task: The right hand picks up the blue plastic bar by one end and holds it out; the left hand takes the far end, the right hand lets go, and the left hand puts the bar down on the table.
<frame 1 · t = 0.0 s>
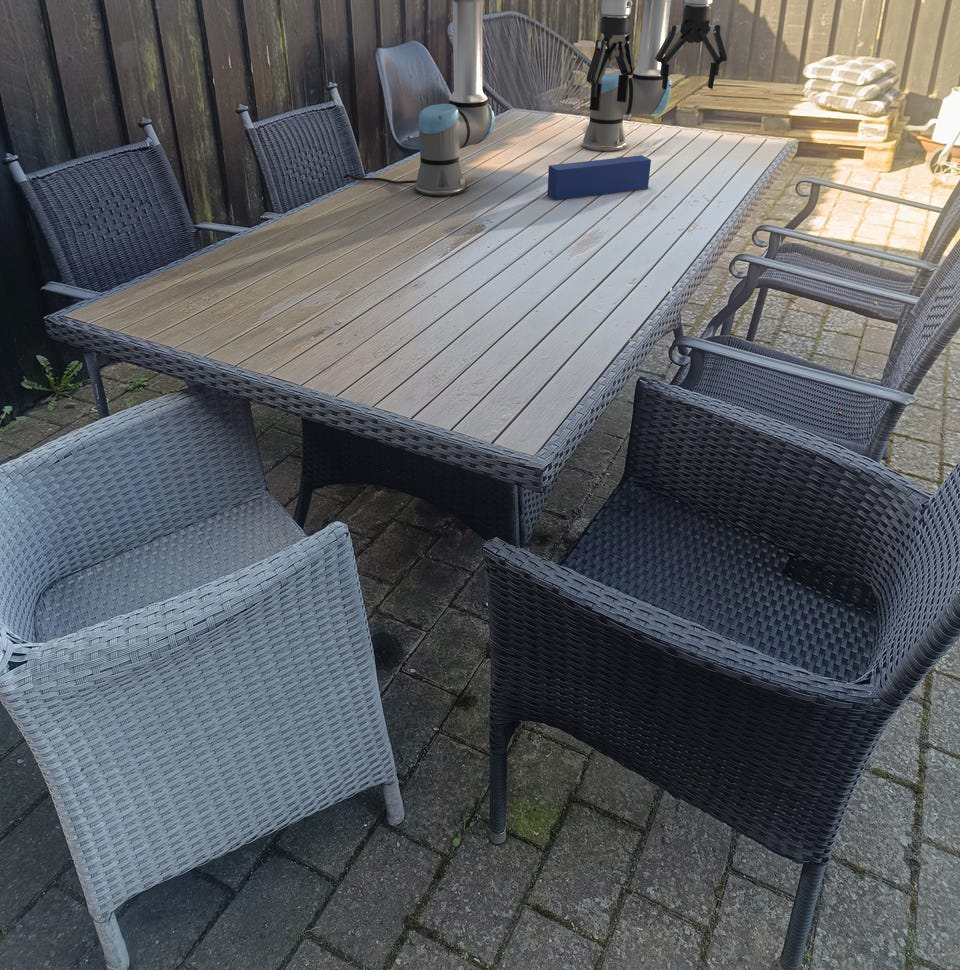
left hand: (608, 106, 226), 28 cm above the table, tool pointing down, fingers open, 13 cm apart
right hand: (687, 88, 245), 28 cm above the table, tool pointing down, fingers open, 13 cm apart
bar: (598, 191, 257), on the table
red lumpy piece: (622, 170, 276), on the table
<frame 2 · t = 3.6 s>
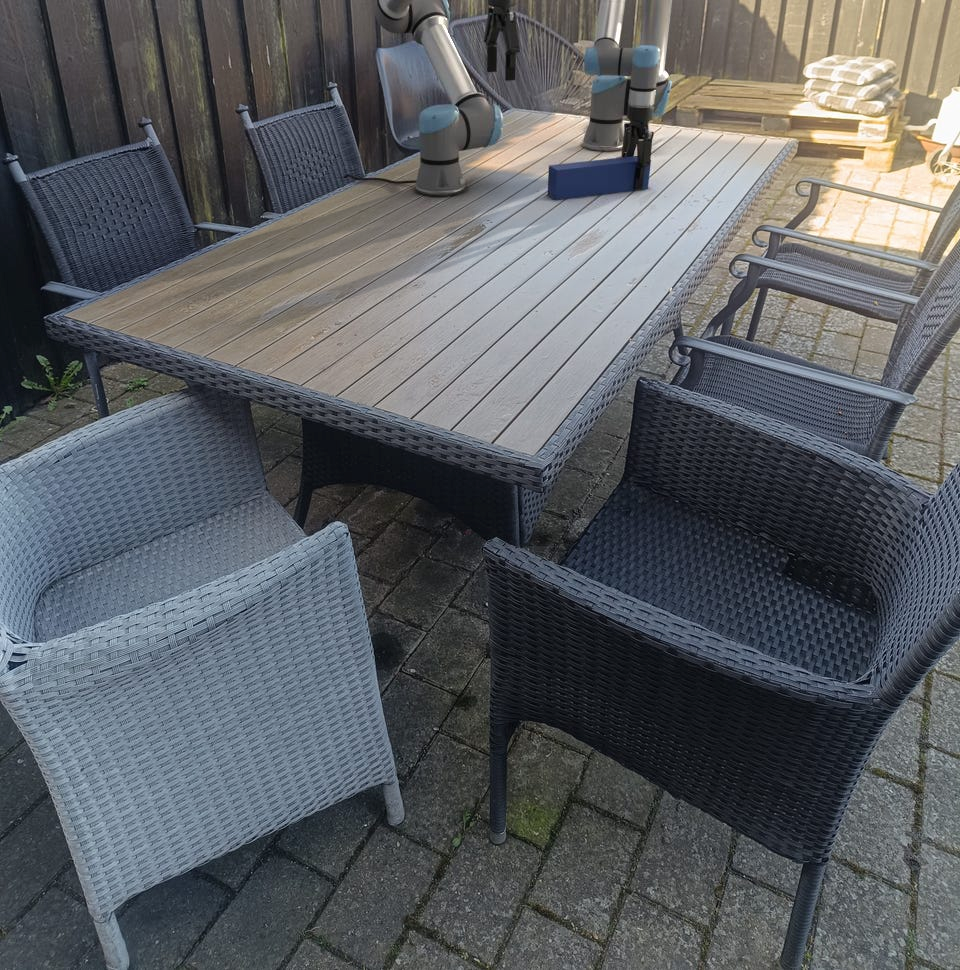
left hand: (500, 76, 237), 32 cm above the table, tool pointing down, fingers open, 13 cm apart
right hand: (632, 185, 260), 1 cm above the table, tool pointing down, fingers closed on bar, 6 cm apart
bar: (598, 191, 257), on the table, touching right hand
everything else where it was.
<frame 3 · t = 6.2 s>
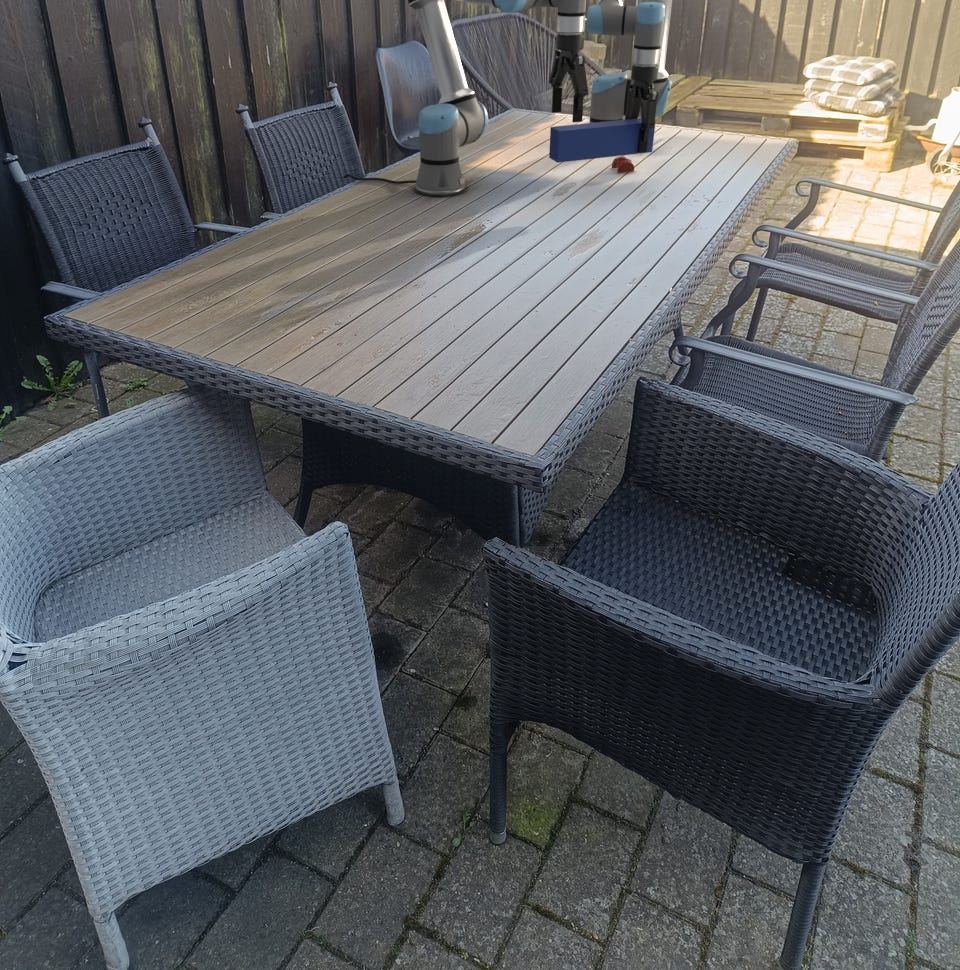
left hand: (566, 117, 240), 22 cm above the table, tool pointing down, fingers open, 13 cm apart
right hand: (636, 149, 254), 11 cm above the table, tool pointing down, fingers closed on bar, 6 cm apart
bar: (601, 155, 251), point 11 cm above the table, touching right hand
everything else where it was.
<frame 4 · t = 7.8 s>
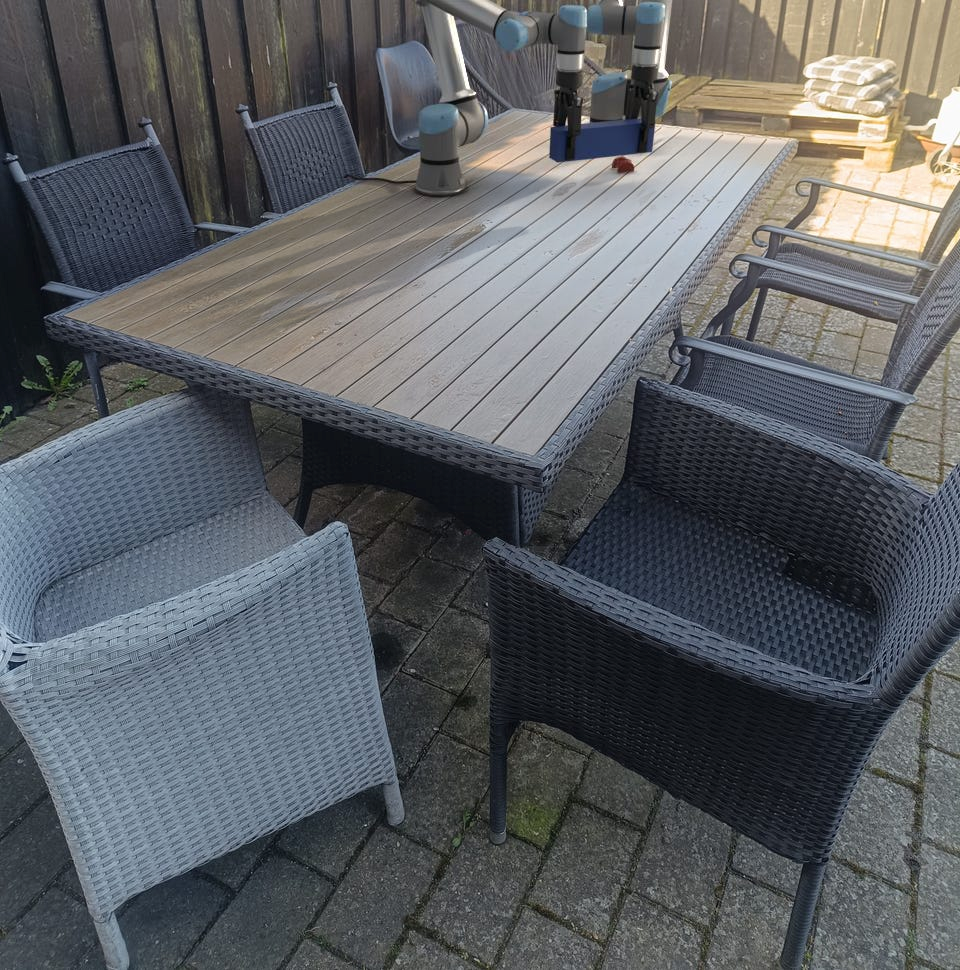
left hand: (565, 156, 247), 11 cm above the table, tool pointing down, fingers closed on bar, 6 cm apart
right hand: (636, 149, 254), 11 cm above the table, tool pointing down, fingers closed on bar, 6 cm apart
bar: (601, 155, 251), point 11 cm above the table, touching left hand, right hand
everything else where it was.
when the right hand's fingers open (11 cm above the table, at t = 8.7 s): bar stays where it is, held by the left hand.
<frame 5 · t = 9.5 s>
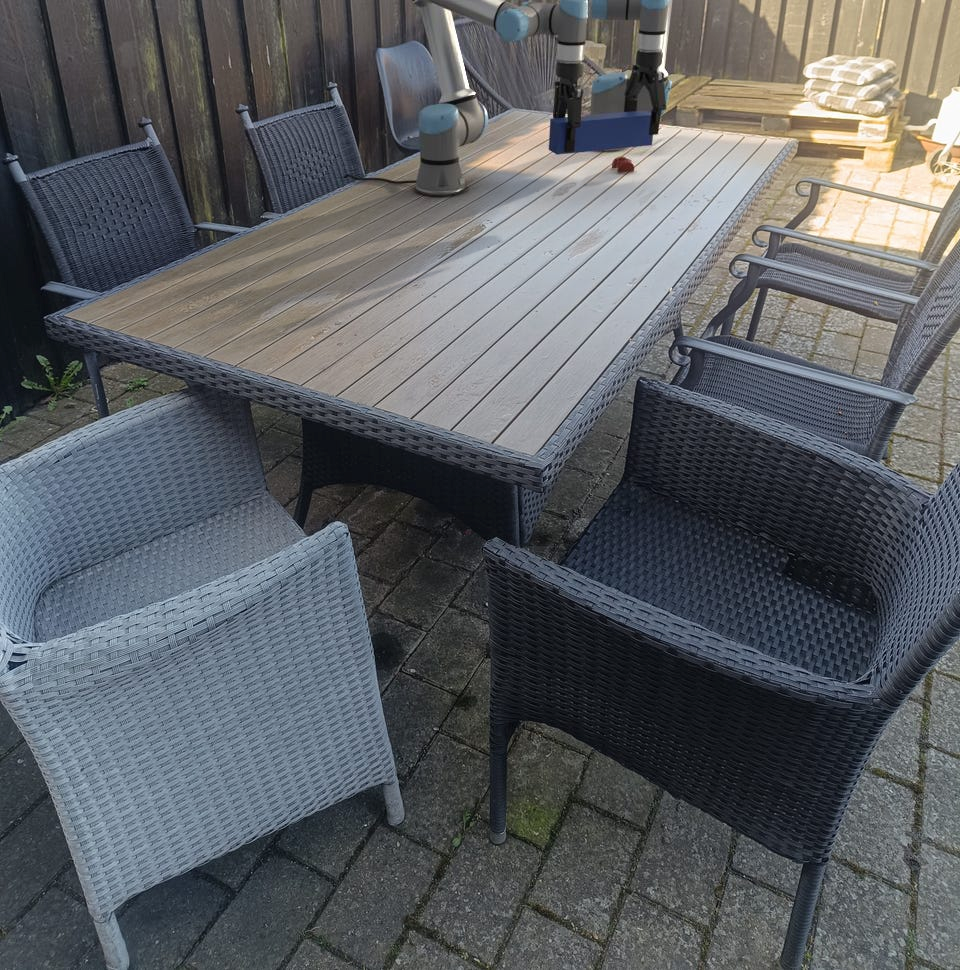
left hand: (564, 148, 246), 14 cm above the table, tool pointing down, fingers closed on bar, 6 cm apart
right hand: (641, 129, 251), 17 cm above the table, tool pointing down, fingers open, 13 cm apart
bar: (600, 147, 250), point 13 cm above the table, touching left hand
everything else where it was.
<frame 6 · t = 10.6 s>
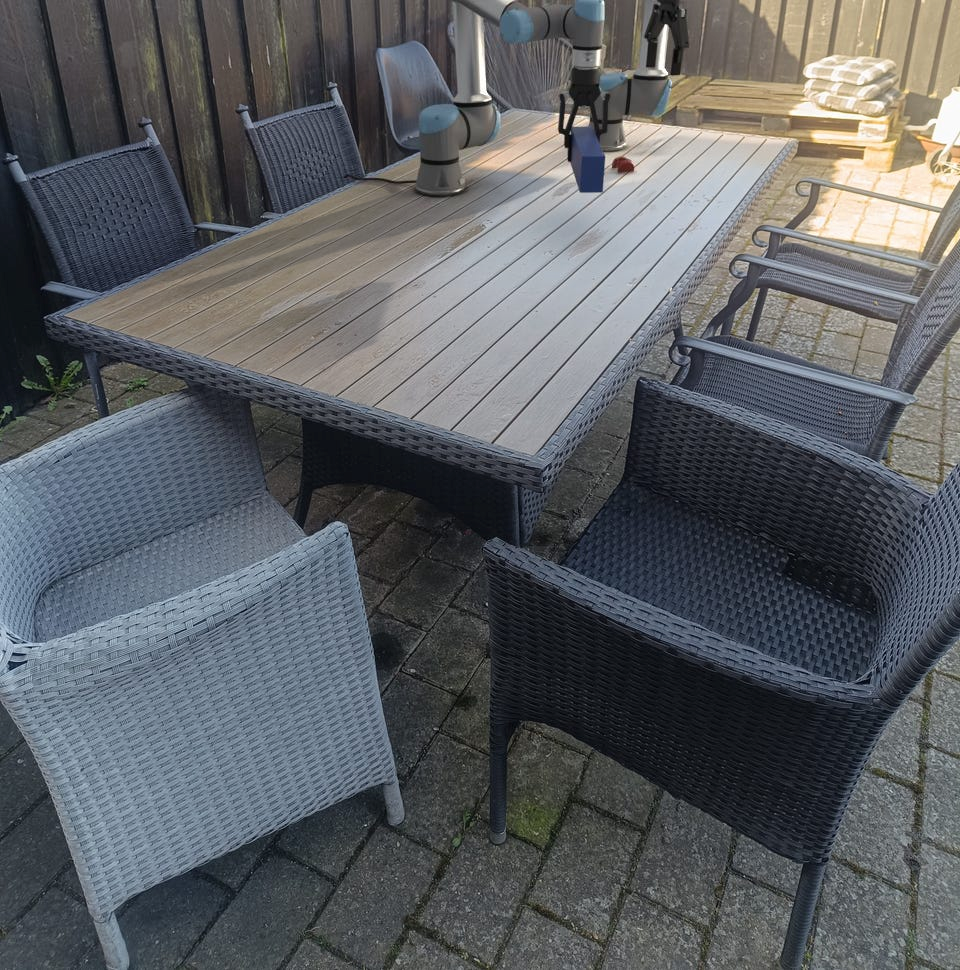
left hand: (580, 160, 230), 15 cm above the table, tool pointing down, fingers closed on bar, 6 cm apart
right hand: (662, 71, 243), 32 cm above the table, tool pointing down, fingers open, 13 cm apart
bar: (585, 175, 221), point 14 cm above the table, touching left hand
everything else where it was.
when the left hand's fingers open (2 cm above the table, at t = 13.5 s): bar stays where it is, on the table.
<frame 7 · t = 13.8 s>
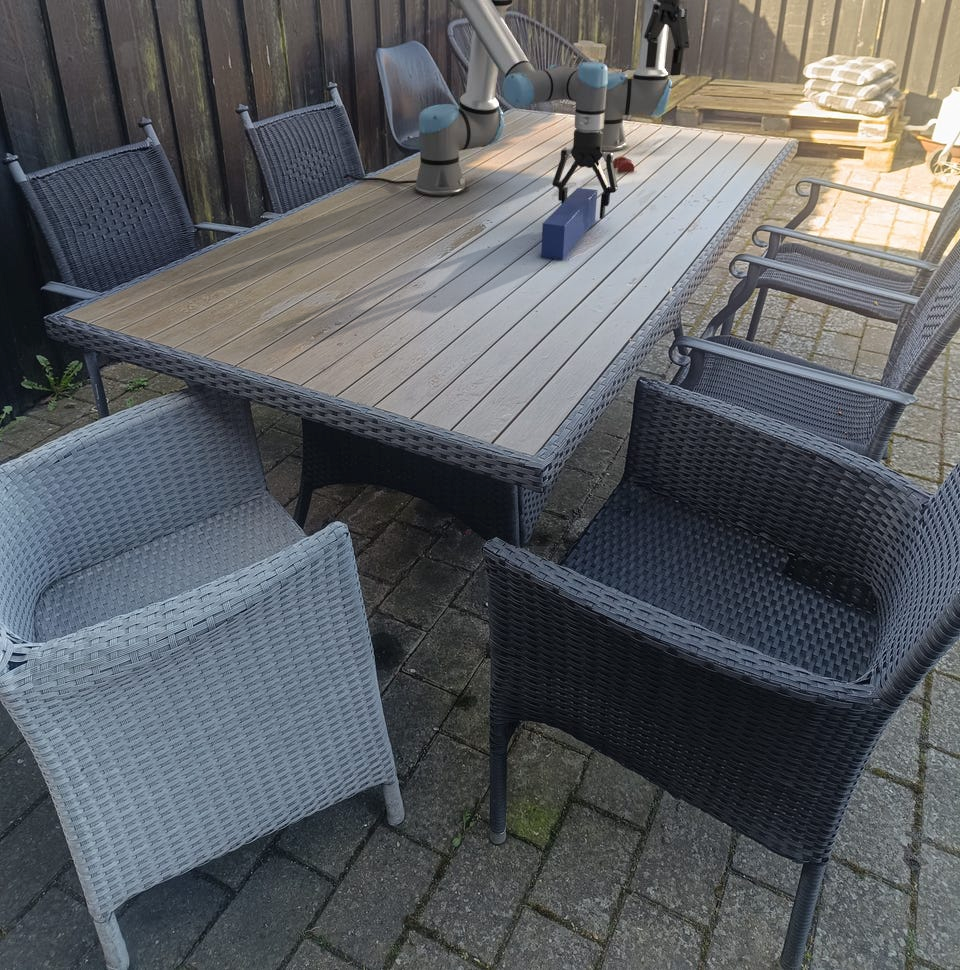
left hand: (582, 215, 231), 3 cm above the table, tool pointing down, fingers open, 10 cm apart
right hand: (662, 71, 243), 32 cm above the table, tool pointing down, fingers open, 13 cm apart
bar: (569, 238, 223), on the table
everything else where it was.
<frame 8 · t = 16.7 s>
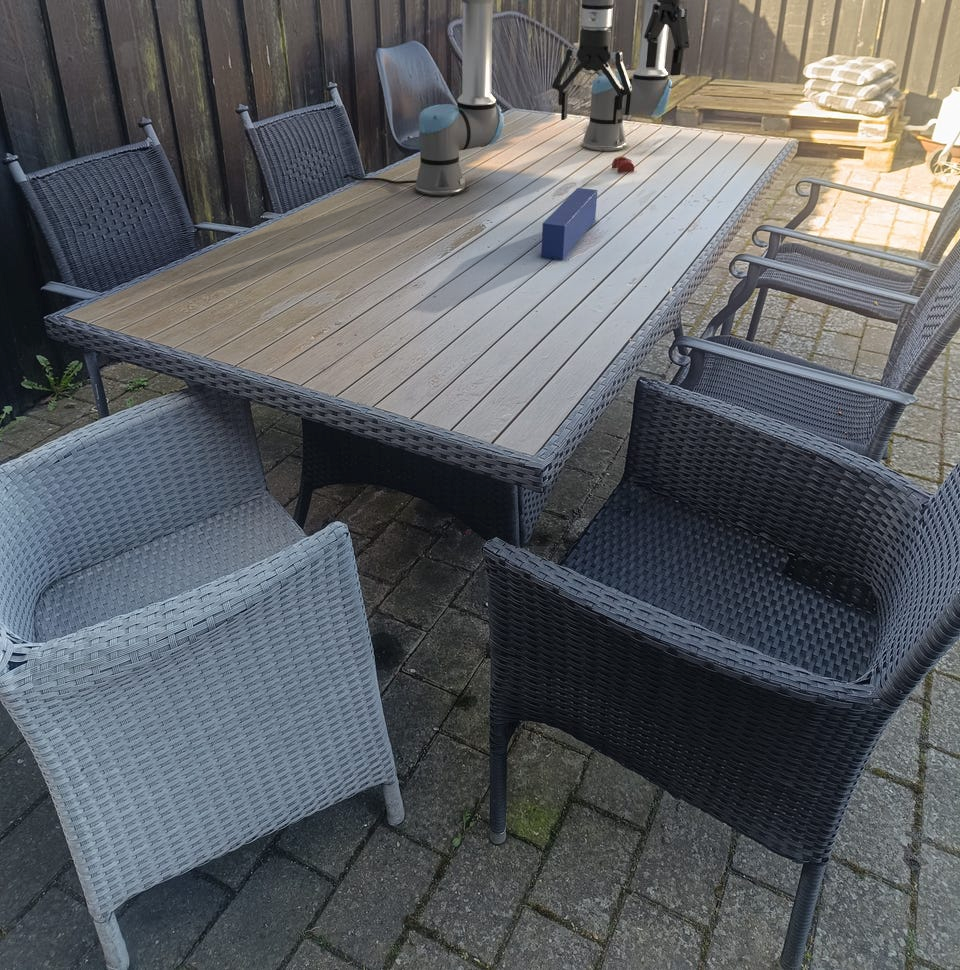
left hand: (589, 121, 217), 27 cm above the table, tool pointing down, fingers open, 13 cm apart
right hand: (662, 71, 243), 32 cm above the table, tool pointing down, fingers open, 13 cm apart
nothing on the table moved.
at the end: bar inside the target area (12.2 cm from its centre), on the table; the left hand is holding nothing; the right hand is holding nothing; bar at rest at the end (0.0 cm/s) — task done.
